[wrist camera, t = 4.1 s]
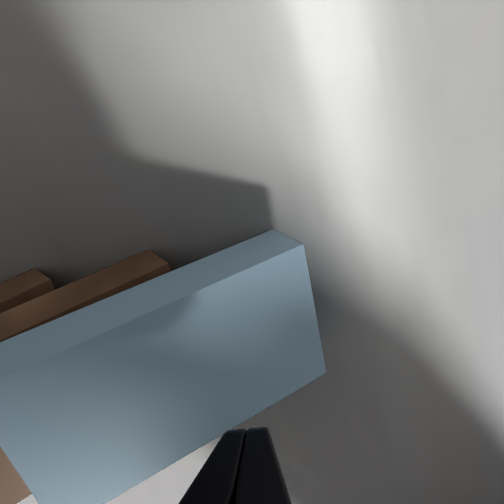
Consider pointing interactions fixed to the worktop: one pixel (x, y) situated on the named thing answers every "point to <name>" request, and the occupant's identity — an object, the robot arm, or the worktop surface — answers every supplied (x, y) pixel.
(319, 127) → the worktop surface
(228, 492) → the robot arm
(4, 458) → the domino
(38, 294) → the domino
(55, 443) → the domino
